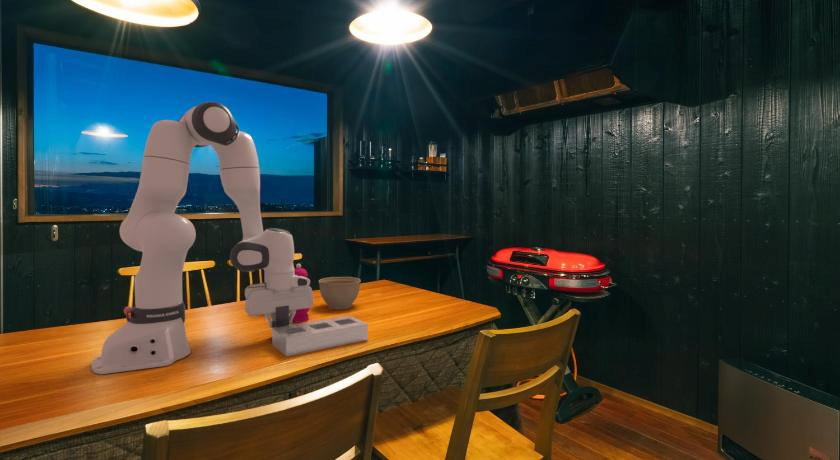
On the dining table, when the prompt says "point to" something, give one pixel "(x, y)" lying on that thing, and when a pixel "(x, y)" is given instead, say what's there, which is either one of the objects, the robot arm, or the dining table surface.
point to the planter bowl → (339, 291)
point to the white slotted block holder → (318, 335)
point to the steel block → (281, 316)
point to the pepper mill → (302, 313)
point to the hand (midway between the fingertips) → (280, 325)
